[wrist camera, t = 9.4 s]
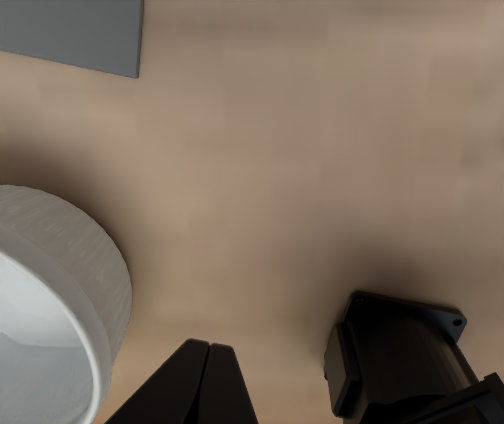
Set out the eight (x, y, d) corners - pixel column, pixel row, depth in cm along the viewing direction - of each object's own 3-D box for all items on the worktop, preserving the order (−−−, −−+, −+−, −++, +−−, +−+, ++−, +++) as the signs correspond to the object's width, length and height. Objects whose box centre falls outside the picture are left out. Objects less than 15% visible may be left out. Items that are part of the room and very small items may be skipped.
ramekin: (-58, 335, 25) (-173, 433, 19) (-90, 139, 20) (-263, 182, 14) (142, 375, 25) (95, 486, 19) (162, 192, 20) (109, 259, 14)
